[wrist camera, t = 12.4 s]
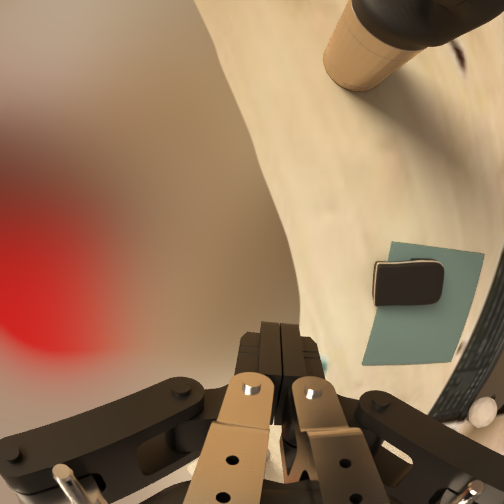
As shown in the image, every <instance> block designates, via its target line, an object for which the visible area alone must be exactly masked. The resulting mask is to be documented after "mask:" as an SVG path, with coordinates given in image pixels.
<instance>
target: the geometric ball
mask: <svg viewBox="0 0 504 504" xmlns="http://www.w3.org/2000/svg"><path fill="white" fill-rule="evenodd" d="M496 413H497V405H496V402H495V400H494V399H492V398H490V397H483V398H480V399H478V400H476V401H475V402H474V403H473V404H472V406H471V408H470V410H469V421H470V423H471V424H472V425H474V426H475V427H477V428H481V427H485V426H488V425H489V424H490V423H491V422H492V421H493V420H494V418H495V416H496Z"/></svg>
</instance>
